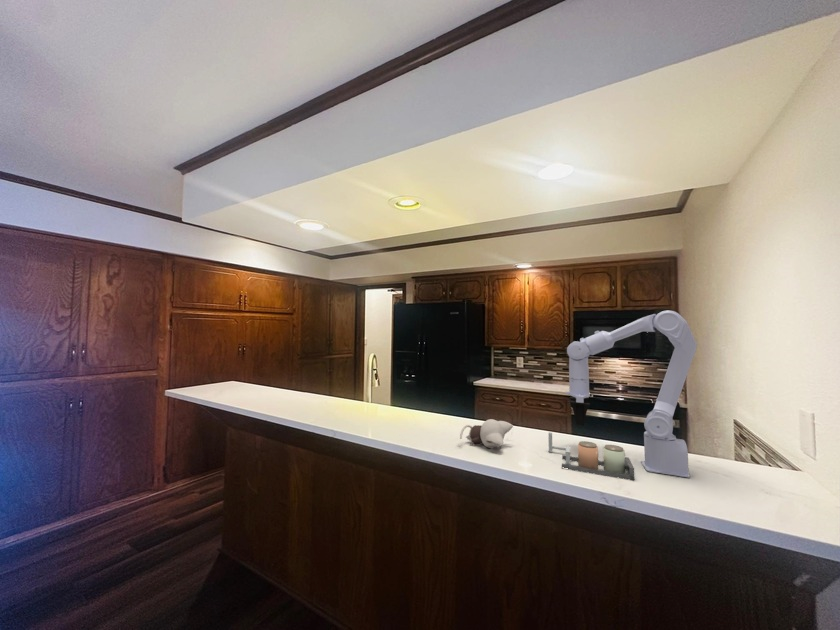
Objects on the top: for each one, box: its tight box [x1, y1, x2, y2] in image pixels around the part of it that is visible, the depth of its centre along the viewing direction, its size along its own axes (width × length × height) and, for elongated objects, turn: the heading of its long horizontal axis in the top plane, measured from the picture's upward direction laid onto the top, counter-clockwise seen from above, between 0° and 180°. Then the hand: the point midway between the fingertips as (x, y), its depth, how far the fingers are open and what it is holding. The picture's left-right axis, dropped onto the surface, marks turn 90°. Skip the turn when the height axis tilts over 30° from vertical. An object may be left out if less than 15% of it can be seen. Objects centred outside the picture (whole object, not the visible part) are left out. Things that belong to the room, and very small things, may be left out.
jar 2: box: [602, 444, 626, 474], centre depth 89 cm, size 5×5×6 cm
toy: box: [459, 418, 514, 450], centre depth 108 cm, size 13×9×15 cm
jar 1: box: [577, 440, 599, 469], centre depth 91 cm, size 5×5×6 cm
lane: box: [561, 454, 636, 481], centre depth 90 cm, size 17×8×3 cm, turn 65°
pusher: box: [548, 431, 571, 465], centre depth 97 cm, size 6×12×6 cm, turn 155°
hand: (579, 422), depth 104 cm, fingers open, 7 cm apart
